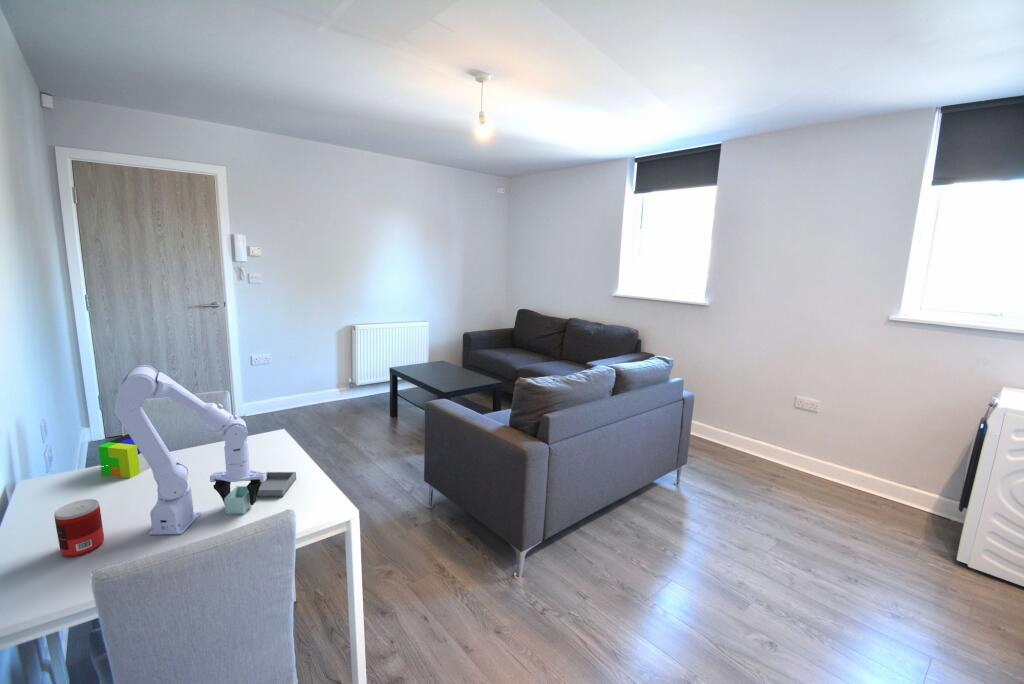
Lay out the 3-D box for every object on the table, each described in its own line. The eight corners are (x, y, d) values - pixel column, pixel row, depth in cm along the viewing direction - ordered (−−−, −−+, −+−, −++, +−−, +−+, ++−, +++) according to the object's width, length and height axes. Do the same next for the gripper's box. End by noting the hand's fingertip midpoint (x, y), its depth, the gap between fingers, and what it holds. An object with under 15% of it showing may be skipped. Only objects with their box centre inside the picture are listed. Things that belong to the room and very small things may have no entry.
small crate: (255, 500, 134) (254, 485, 133) (244, 514, 127) (243, 498, 126) (237, 501, 134) (236, 485, 133) (225, 514, 127) (224, 498, 126)
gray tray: (296, 478, 148) (295, 471, 147) (282, 497, 137) (282, 489, 136) (266, 478, 147) (266, 471, 146) (251, 497, 136) (250, 490, 135)
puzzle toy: (158, 464, 152) (154, 436, 150) (130, 478, 143) (127, 449, 141) (131, 461, 153) (127, 434, 151) (102, 475, 144) (98, 446, 142)
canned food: (112, 537, 115) (107, 499, 113) (84, 559, 107) (78, 517, 105) (81, 537, 115) (75, 498, 112) (51, 558, 107) (44, 516, 104)
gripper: (270, 453, 132) (272, 495, 135) (217, 453, 131) (221, 495, 133) (259, 465, 125) (262, 508, 128) (204, 465, 124) (208, 509, 126)
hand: (240, 503), depth 130 cm, fingers open, 6 cm apart
